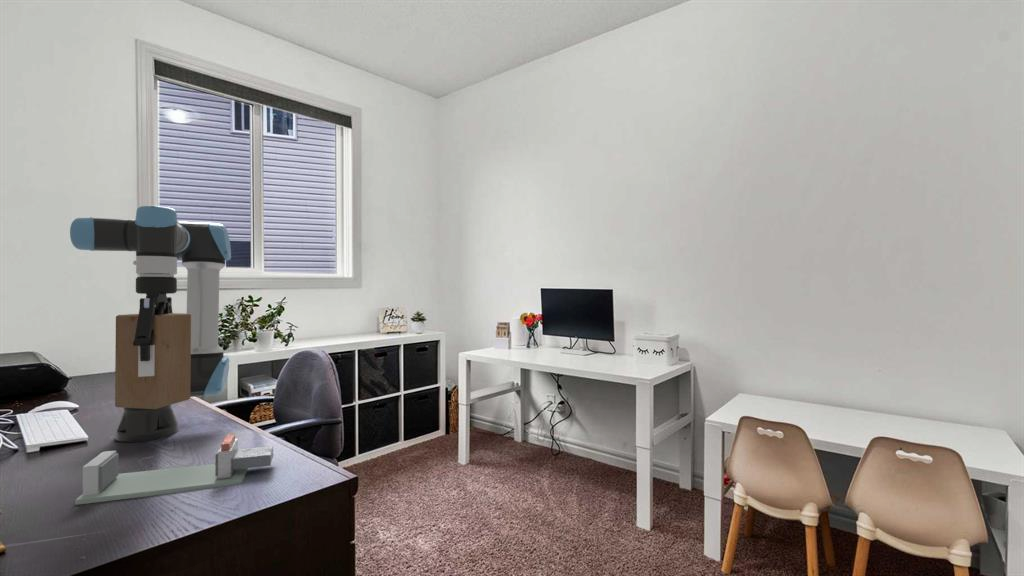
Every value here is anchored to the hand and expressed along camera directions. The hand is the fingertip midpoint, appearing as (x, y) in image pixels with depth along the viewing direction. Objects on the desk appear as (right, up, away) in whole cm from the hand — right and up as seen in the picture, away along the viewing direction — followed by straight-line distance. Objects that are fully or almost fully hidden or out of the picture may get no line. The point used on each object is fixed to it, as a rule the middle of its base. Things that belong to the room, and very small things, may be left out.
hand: (156, 371), depth 112 cm
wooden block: (-1, -7, 0) cm, 7 cm away
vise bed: (+3, -25, +1) cm, 26 cm away
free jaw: (+17, -24, +6) cm, 30 cm away
